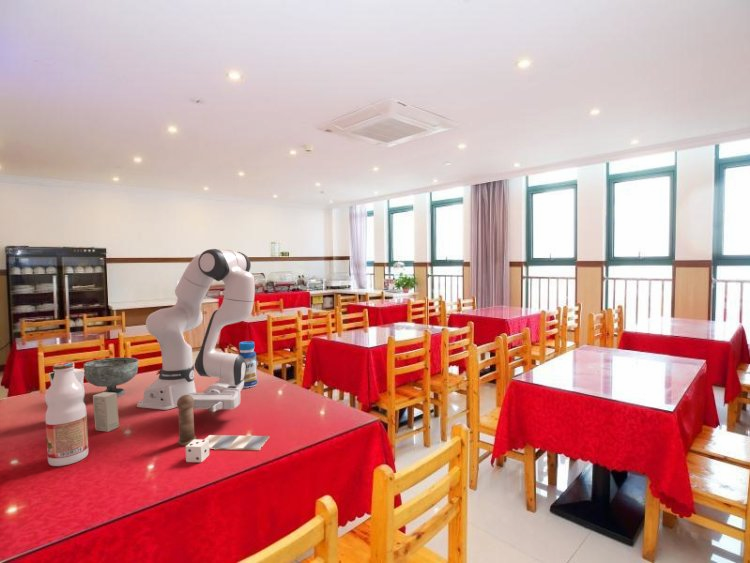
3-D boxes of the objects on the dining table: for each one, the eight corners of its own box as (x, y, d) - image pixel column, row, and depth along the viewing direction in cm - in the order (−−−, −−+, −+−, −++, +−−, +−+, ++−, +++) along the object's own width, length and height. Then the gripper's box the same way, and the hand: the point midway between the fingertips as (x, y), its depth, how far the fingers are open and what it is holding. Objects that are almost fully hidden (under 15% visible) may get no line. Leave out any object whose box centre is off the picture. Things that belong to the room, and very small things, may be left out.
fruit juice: (72, 467, 111) (67, 367, 110) (39, 467, 112) (33, 368, 110) (96, 451, 121) (91, 359, 120) (65, 451, 121) (60, 359, 120)
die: (185, 462, 113) (184, 446, 112) (194, 454, 117) (194, 438, 117) (202, 463, 112) (201, 446, 112) (210, 454, 117) (209, 439, 117)
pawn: (174, 445, 123) (172, 397, 123) (183, 438, 129) (181, 392, 128) (190, 446, 123) (188, 398, 122) (199, 438, 128) (197, 392, 127)
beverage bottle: (260, 382, 188) (259, 340, 187) (253, 388, 179) (251, 344, 178) (243, 382, 188) (241, 340, 187) (235, 388, 180) (233, 344, 179)
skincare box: (119, 427, 139) (117, 392, 138) (107, 432, 134) (105, 396, 134) (106, 425, 141) (104, 391, 140) (93, 430, 136) (92, 395, 136)
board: (194, 449, 121) (194, 447, 121) (209, 436, 130) (209, 434, 130) (259, 450, 119) (259, 448, 119) (269, 437, 128) (269, 435, 128)
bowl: (147, 392, 177) (146, 358, 177) (99, 405, 161) (97, 368, 160) (125, 385, 188) (123, 353, 187) (77, 397, 172) (75, 362, 171)
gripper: (189, 386, 146) (167, 399, 133) (243, 387, 145) (226, 400, 131) (190, 403, 147) (168, 418, 133) (244, 404, 145) (227, 419, 131)
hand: (197, 409), depth 132 cm, fingers open, 8 cm apart
